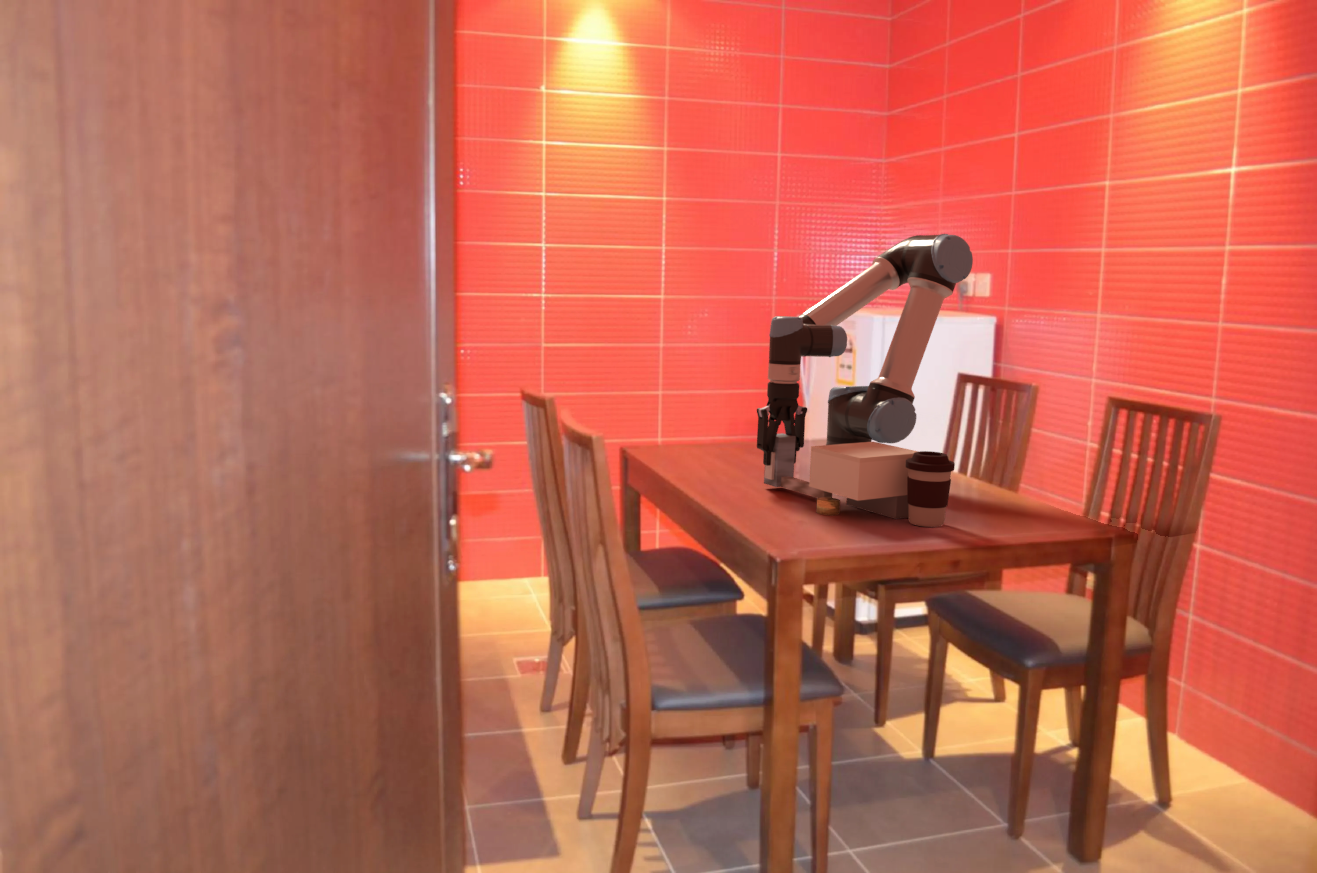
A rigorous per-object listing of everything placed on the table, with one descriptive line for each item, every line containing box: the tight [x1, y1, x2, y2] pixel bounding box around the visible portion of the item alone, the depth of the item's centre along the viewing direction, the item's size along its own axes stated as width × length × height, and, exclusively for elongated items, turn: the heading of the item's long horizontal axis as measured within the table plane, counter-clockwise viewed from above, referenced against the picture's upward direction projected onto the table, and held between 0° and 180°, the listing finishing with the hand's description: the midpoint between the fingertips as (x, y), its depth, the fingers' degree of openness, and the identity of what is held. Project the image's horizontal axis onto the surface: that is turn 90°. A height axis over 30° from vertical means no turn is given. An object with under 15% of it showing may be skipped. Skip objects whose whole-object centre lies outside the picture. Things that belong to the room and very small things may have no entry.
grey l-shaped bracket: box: [763, 433, 833, 499], centre depth 247 cm, size 21×5×12 cm, turn 31°
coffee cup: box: [906, 450, 956, 528], centre depth 221 cm, size 10×10×15 cm
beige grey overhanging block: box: [808, 441, 920, 520], centre depth 231 cm, size 16×18×14 cm
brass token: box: [816, 497, 841, 516], centre depth 230 cm, size 5×5×3 cm
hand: (778, 477), depth 254 cm, fingers closed on grey l-shaped bracket, 5 cm apart
